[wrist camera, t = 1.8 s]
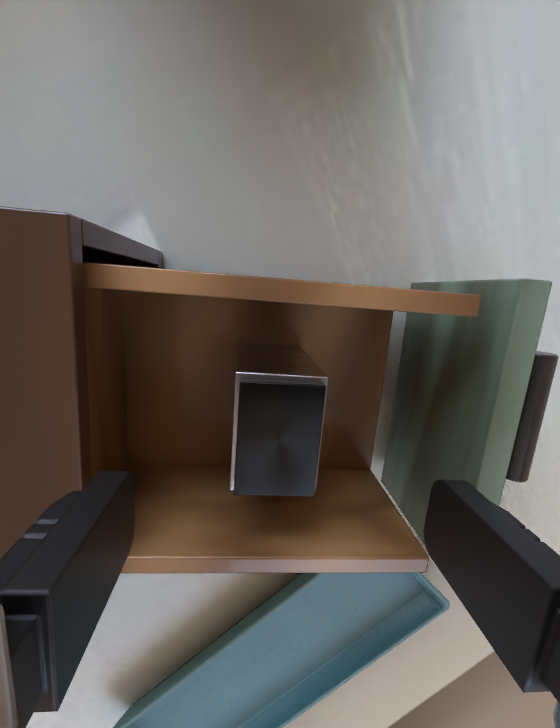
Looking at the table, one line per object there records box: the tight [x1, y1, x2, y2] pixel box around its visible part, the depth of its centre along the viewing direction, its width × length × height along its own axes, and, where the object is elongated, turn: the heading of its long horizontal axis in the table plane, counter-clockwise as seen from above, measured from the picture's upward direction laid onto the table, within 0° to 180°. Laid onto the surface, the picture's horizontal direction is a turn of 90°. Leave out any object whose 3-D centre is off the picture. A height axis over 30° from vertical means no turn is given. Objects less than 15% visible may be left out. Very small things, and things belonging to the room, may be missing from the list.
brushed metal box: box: [229, 343, 328, 496], centre depth 17 cm, size 4×5×8 cm
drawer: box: [83, 262, 558, 573], centre depth 17 cm, size 24×13×9 cm, turn 86°
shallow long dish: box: [113, 573, 450, 728], centre depth 26 cm, size 26×9×2 cm, turn 131°
